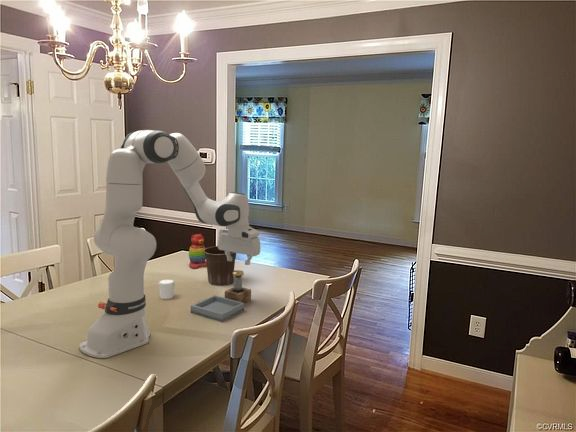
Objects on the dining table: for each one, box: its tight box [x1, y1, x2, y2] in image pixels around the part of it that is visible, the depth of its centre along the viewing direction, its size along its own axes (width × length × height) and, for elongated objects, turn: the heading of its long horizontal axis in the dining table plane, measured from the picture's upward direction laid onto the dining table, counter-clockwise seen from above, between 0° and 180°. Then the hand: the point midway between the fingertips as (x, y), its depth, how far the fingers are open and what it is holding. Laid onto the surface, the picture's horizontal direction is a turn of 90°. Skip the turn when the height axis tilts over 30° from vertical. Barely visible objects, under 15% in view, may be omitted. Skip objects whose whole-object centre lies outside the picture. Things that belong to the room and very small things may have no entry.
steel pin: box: [233, 269, 245, 293], centre depth 174 cm, size 5×5×13 cm
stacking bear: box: [188, 233, 207, 270], centre depth 225 cm, size 11×10×18 cm
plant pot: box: [204, 245, 237, 286], centre depth 199 cm, size 16×16×16 cm
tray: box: [190, 294, 246, 323], centre depth 164 cm, size 14×16×3 cm
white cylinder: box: [157, 278, 175, 300], centre depth 178 cm, size 7×7×7 cm
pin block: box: [224, 286, 252, 304], centre depth 175 cm, size 8×8×5 cm
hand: (238, 262), depth 172 cm, fingers open, 8 cm apart
